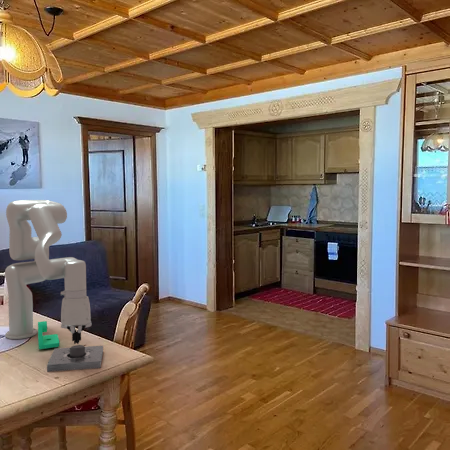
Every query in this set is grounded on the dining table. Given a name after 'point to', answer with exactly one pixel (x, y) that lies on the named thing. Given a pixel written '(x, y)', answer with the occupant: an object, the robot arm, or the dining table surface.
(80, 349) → the dark gray cylinder
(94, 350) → the mount plate
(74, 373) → the dining table surface
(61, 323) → the robot arm
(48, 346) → the camera mount
